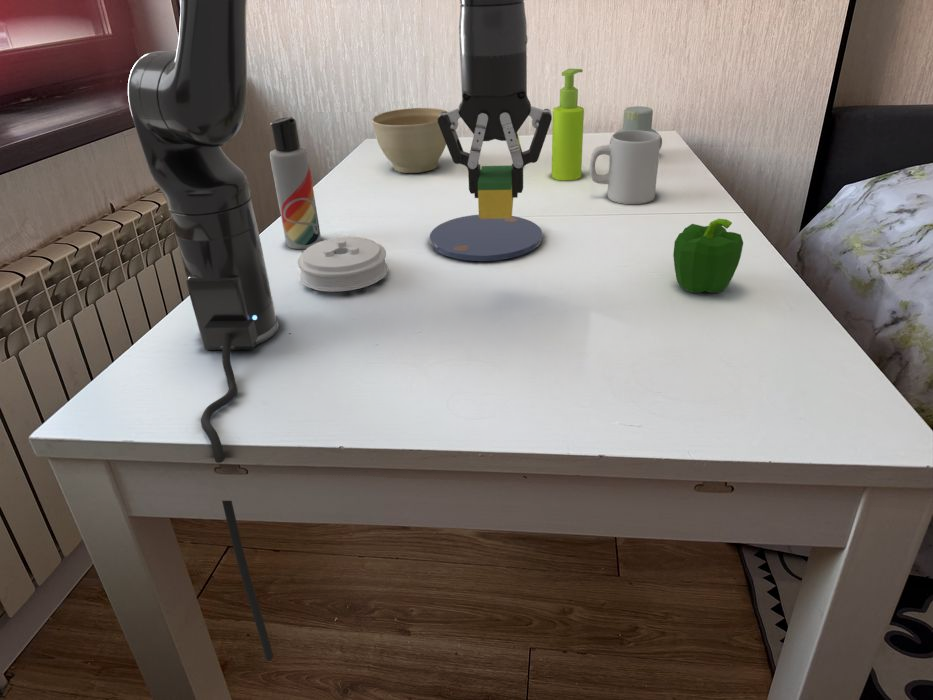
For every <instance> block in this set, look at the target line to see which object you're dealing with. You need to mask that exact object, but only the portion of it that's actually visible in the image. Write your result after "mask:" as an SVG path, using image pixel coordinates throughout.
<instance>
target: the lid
mask: <svg viewBox="0 0 933 700" xmlns="http://www.w3.org/2000/svg"><path fill="white" fill-rule="evenodd" d="M386 258H387V250H386V248H385V246H383V245H382V244H380V243H378V242H376V241H375V240H373V239H371V238H368V237H367V238H366V237H360V236H341V237H334V238H333V237H332V238H328V239H325V240H321V241H320V242H318V243H316V244H313V245H312V246H310V247H308V248H305V249H304V251H303V252H301V254H300V255H299V256H298V258H297V266H298V268H299V269H300V271H301V272H300V275H299V276H300V277H299V278H300V281H301V283H302V285H304V286H306V288H307V287H308V288H310V289H311V290H315V291H320V292H332V293H333V292H337V293H339V292H347V291H354V290H359V289H362V288H367V287H369V286H371V285H374V284H376V283H377V282H379V281H381V280H382V279H383V278H384V277H385V276H386V275H387V274H388V271H389V267H388V264H387V262H386Z"/></svg>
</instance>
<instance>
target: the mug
mask: <svg viewBox="0 0 933 700" xmlns="http://www.w3.org/2000/svg"><path fill="white" fill-rule="evenodd" d="M616 132H617V131H616ZM616 132H614V133H613V134H611V138H610V140H611V144H610V143H609V144H604V145H600V146H597V147H596V148H594V149H593V151H592V153H591V155H590V159H589V160H590V161H589V174H590V178H591V179H592V181H593V182H594V183H596V184H600V185H607V199H609V201H612V202H614V203H618V204H624V205H643V204H647V203H650V202H652V201H653V200H654V199H655V198H656V191H657V178H658V169H659V158H660V157H659V156H660V150H659V148H660V136H661V134H659V133H658V132H657V133H658V134H659V135H658V134H657V133H654V132H649V131H639V130H632V131H622V132H617V133H616ZM660 149H661V148H660ZM601 155H606V156H608V157H609V165H608V173H606V174H601V175H600V174H598V173H597V170H596V162H597V159H598V157H599V156H601Z"/></svg>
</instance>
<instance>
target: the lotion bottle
mask: <svg viewBox="0 0 933 700" xmlns="http://www.w3.org/2000/svg"><path fill="white" fill-rule="evenodd" d="M269 125H270V130H271V135H272V136H271V137H272V141H273V146H274V147H273V148H274V149H273V150H271V151H269V158H270V165H271V170H272V176H273V182H274V186H275V191H276V197H277V202H278V207H279V208H278V209H279V213H280V218H281V223H282V229H283V234H284V239H285V243H286V246H287V247H288V248H289V249H294V250H306V249H307V248H308V247H310V246H312V245H313V244H316V243H318V242H321V241H322V237H321V229H320V222H319V216H318V211H317V210H318V209H317V204H316V198H315V191H314V186H313V180H312V172H311V166H310V162H309V154H308V150H307V148H306V147H304V146H301V145H300V144H301V143H300V138H299V131H298V126H297V120H296V119H295V118H293V116H289V117H287V116H286V117H281V118H278V119H276V120H274V121H272V122H270V124H269Z"/></svg>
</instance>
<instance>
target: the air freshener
mask: <svg viewBox="0 0 933 700" xmlns="http://www.w3.org/2000/svg"><path fill="white" fill-rule="evenodd" d="M653 113H654V110H653V109H652V107H649V106H643V105H642V106H639V105H638V106H637V105H636V106H635V105H634V106H629V107H625V109H623V119H622V128H620V129H618V130H617V131H615V133H617V132H622V131H632V130H639V131H649V132H654V133H657V134H658V135H660V133H659V132H658V131H657V130H655V129H653V128H652V126H653V117H654V116H653V115H654V114H653ZM610 144H611V139H610V140H609V145H610ZM662 146H663V138H662V136H661V135H660V148H659V151H660V150H661V149H662Z"/></svg>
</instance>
